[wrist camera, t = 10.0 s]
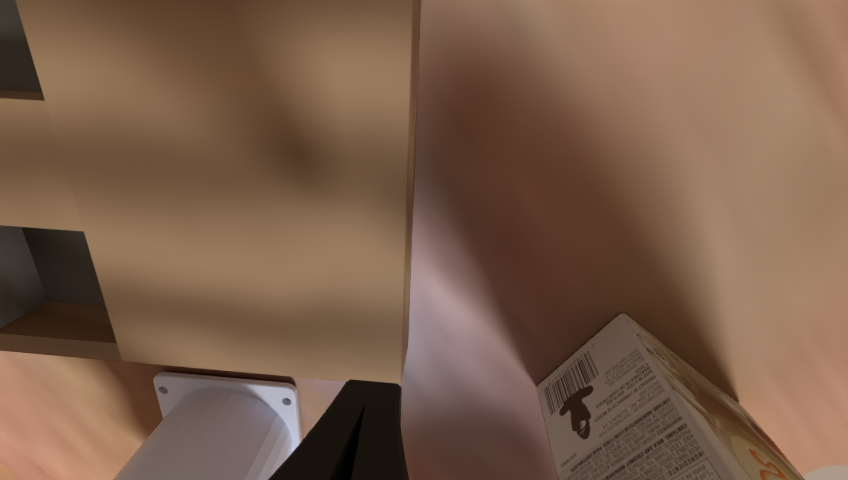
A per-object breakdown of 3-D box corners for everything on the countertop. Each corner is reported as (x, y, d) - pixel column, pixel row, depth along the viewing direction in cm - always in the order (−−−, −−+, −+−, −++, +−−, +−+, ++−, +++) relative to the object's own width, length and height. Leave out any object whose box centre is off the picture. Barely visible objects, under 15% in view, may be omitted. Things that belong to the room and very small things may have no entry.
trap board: (407, 344, 21) (400, 386, 18) (-133, 299, 23) (-214, 331, 20) (424, -84, 14) (416, -120, 11) (-359, -109, 16) (-533, -146, 13)
